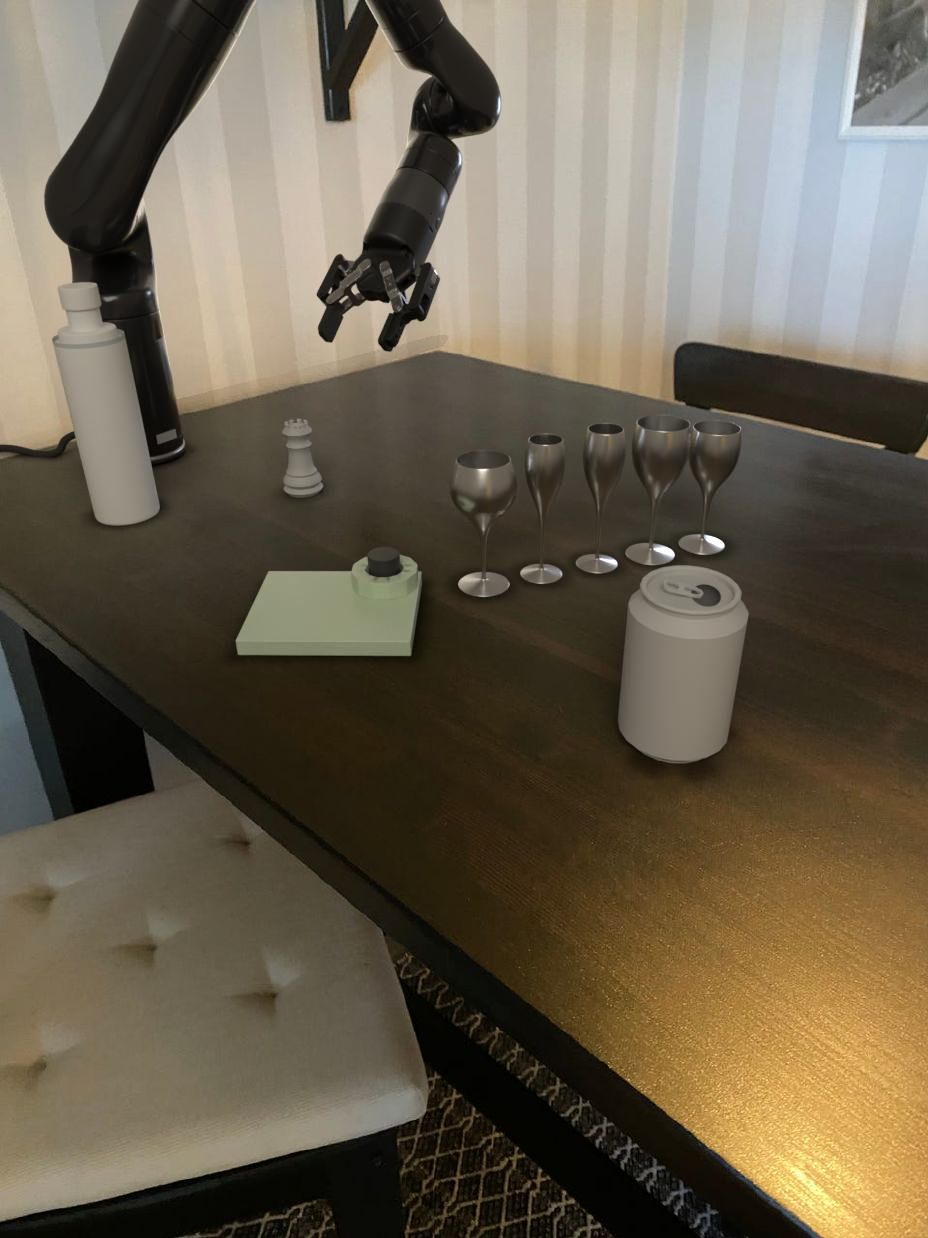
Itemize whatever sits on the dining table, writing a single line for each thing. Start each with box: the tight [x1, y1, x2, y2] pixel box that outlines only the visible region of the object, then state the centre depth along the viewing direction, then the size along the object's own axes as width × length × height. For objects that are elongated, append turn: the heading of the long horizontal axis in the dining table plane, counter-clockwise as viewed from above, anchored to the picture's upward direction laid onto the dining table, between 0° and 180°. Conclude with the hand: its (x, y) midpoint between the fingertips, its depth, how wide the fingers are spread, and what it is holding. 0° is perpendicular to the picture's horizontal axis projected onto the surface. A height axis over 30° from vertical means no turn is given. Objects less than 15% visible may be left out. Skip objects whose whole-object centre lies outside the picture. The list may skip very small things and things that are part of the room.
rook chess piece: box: [281, 418, 324, 499], centre depth 100 cm, size 4×4×8 cm
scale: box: [235, 554, 423, 657], centre depth 77 cm, size 14×12×3 cm
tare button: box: [366, 546, 401, 577], centre depth 78 cm, size 3×3×2 cm
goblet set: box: [449, 414, 742, 598], centre depth 82 cm, size 28×6×13 cm, turn 109°
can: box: [617, 564, 750, 764], centre depth 60 cm, size 8×8×12 cm
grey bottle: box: [51, 282, 161, 527], centre depth 91 cm, size 7×7×25 cm
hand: (353, 343), depth 102 cm, fingers open, 8 cm apart
